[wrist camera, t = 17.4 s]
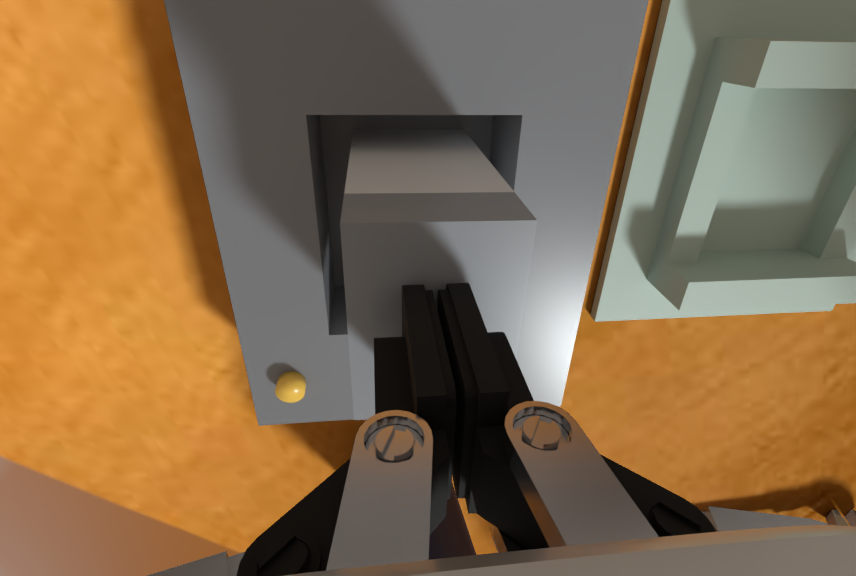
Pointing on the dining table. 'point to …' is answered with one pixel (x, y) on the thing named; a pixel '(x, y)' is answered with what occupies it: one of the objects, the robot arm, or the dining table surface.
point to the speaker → (451, 533)
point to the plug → (426, 238)
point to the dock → (394, 109)
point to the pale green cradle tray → (739, 165)
